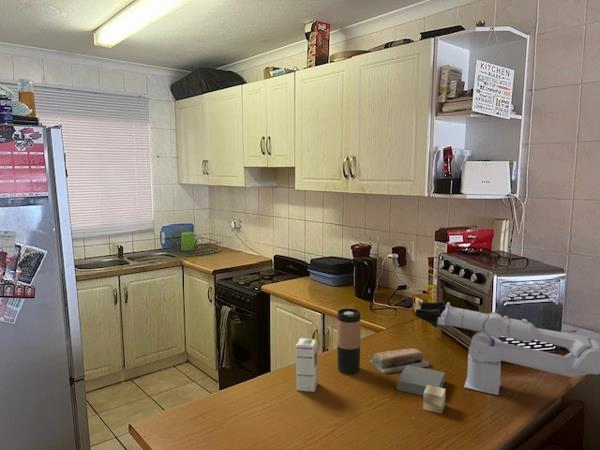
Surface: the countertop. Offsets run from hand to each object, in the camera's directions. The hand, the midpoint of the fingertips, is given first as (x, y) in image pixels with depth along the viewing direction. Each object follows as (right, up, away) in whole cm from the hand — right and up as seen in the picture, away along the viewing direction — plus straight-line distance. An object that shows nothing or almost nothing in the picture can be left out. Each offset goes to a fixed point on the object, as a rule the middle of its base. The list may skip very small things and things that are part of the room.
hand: (418, 309), depth 139 cm
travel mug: (-22, -21, +5) cm, 31 cm away
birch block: (-1, -24, -18) cm, 30 cm away
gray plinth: (-1, -22, -6) cm, 23 cm away
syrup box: (-36, -23, -6) cm, 43 cm away
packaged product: (-4, -21, +9) cm, 24 cm away
